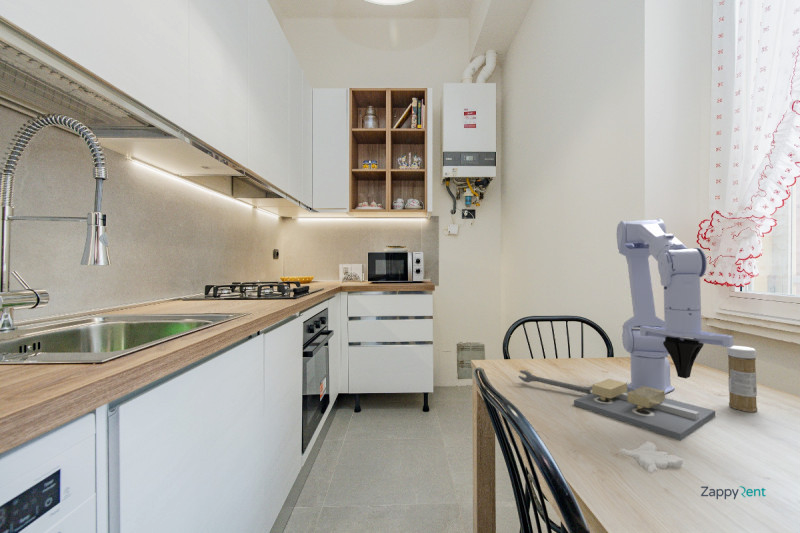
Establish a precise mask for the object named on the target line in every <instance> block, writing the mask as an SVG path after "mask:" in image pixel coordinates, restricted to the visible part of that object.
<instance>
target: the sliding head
mask: <svg viewBox="0 0 800 533" xmlns="http://www.w3.org/2000/svg"><path fill="white" fill-rule="evenodd" d="M627 396H628V402H629V403H632V404H636V405H637V410H641V411H642V410H643V407H647V408H651V407H653V406H655V405H657V404H659V403H660V402H662V401H664V400H665V398H666V394H665V391H663V390H659V389H654V388H650V387H646V386H642V387H640V388H637V389H635V390H633V391H630V392H628V393H627Z"/></svg>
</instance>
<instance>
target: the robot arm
mask: <svg viewBox="0 0 800 533" xmlns="http://www.w3.org/2000/svg"><path fill="white" fill-rule="evenodd" d="M616 242H617V249H618V253H619V254H620V255H622V256H624V257H625V260H626V263H627V270H628V279H629V286H630V287H629V288H630V296H631V306H632V313H633V316H631V317H630V318H629V319H627V320H625V322H624V323H623V325H622V334H621V335H622V336H621V337H622V338H621V339H622V346H623V348H624V350H625V351H626V352H627V353H629V355H630V383H627V388H628V389H632V390H635V389H637V388H640V387H642V386H646V387H650V388H654V389H659V390H663V391H665V395H666V394H668V393H669V392H672V391H674V390H676V387H675V386H671V363H670V361H669V359H668V357H669V356H670V358H671V360H672V362H673V365H674V367H675V371H676V376H677V378H683V379H688V378H690V377H691V373H692V369H693V366H694V362H695V361H696V359H697V357H698V355H699V353H700V352H701V350H702V349H703V347H704V344H706V345H714V346H722V347H724V348H727V347H732V346H734V335H729V334H721V333H714V332H710V331H705V330H703V331H702V299H701V297H702V296H701V278H702V277H703V276H705V274H706V272H707V266H708V264H707V262H708V261H707V257H706V254H705V252H704V251H703V250H702V248H701V247H694V248H689V247H688V246H686V245H685V244H684V243H683V242H682V241H681V240H679V238H677V237H676V236H675V235H674V234H673V233H667V227H666V223H665V221H664V220H662V219H661V218H657V219H645V220H627V221H625V220H621V221H619V223H618V224H617V227H616ZM650 256H652V257H653V258H654V259H655V261H657V269H658V273H659V275H660V276H659V277H660V284H661V286H662V287H663V308H664V309H663V311H664V312H663V314H664V317H663V318H664V320H663V319H661V318H660V317H659V316H657V315H656V306H655V298H654V291H653V290H654V289H653V284H652V275H651V269H650V268H651V267H650V261H649V258H650Z"/></svg>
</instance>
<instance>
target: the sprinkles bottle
mask: <svg viewBox="0 0 800 533" xmlns="http://www.w3.org/2000/svg"><path fill="white" fill-rule="evenodd" d="M726 353H727V359H728V360H727V361H728V378H727V379H728V380H727V381H728V393H729V398H728V399H729V401H728V405H729V406H730V407H731V408H732V409H735V410H738V411H743V412H748V413H749V412H750V413H754V412H755V413H756V412H757V411H758V406H757V404H758V403H757V396H758V392H757V390H758V387H757V372H756V371H757V370H756V360H757V351H756V348H754V347H749V346H744V345H743V346H742V345H733V346H732V347H726Z"/></svg>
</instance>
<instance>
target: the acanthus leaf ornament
mask: <svg viewBox="0 0 800 533" xmlns="http://www.w3.org/2000/svg"><path fill="white" fill-rule="evenodd" d="M618 453H620V454H622V455H628V456H631V457H633V458H634V459H636V460H637V461H638V464H639V465H640V466H641V467H644V469H647V472H648V473H649V474H653V473H655V472H657V471H658V468H661V469H667V467H670V468H681V467H682V465H683V462H684V459H682V457H679V456H677V455H674V454H669V452H667V451H658V447H657V446H656V444H655V443H653V442H651V441H645V442H644V443H642V444H641V445H640V446H639V447H637V448H636V449H631V450H629V449H626V448H623V447H622V448H620V449H619V452H618ZM657 467H658V468H657Z"/></svg>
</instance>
